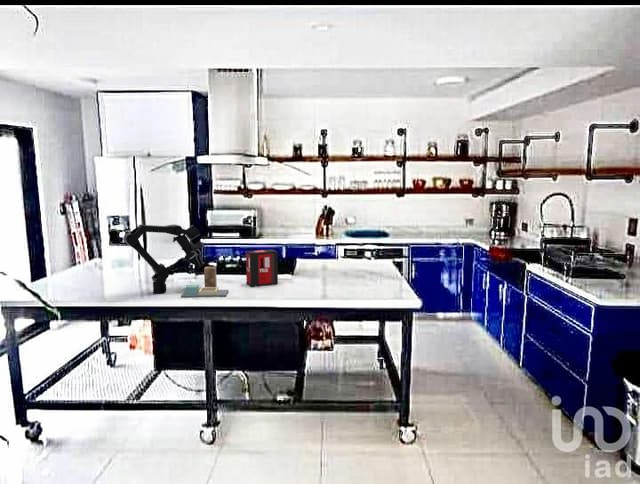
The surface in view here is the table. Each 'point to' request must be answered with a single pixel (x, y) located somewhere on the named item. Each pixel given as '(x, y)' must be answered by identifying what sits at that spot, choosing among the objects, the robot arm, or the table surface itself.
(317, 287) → the table surface
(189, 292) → the board
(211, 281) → the pillar
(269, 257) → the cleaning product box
